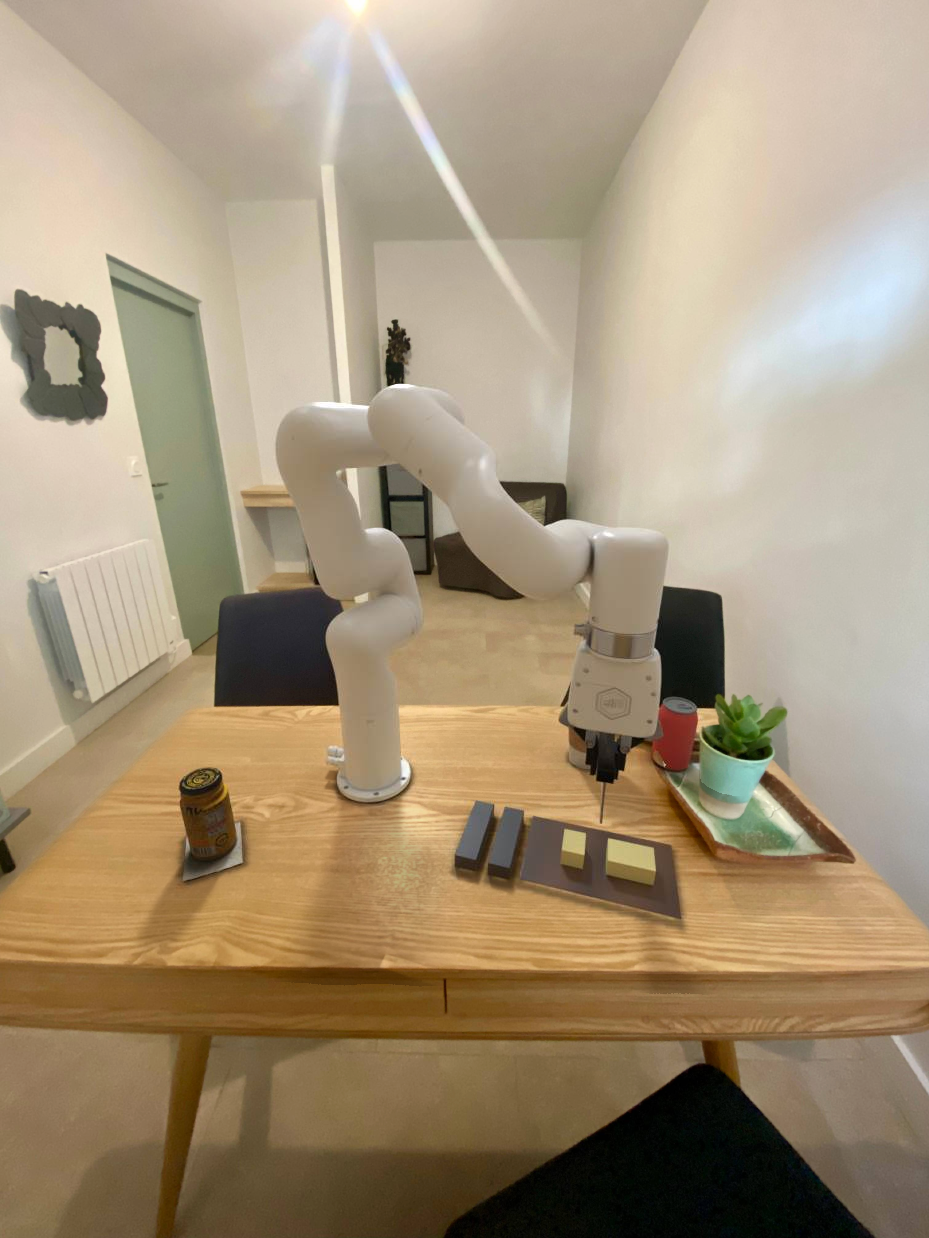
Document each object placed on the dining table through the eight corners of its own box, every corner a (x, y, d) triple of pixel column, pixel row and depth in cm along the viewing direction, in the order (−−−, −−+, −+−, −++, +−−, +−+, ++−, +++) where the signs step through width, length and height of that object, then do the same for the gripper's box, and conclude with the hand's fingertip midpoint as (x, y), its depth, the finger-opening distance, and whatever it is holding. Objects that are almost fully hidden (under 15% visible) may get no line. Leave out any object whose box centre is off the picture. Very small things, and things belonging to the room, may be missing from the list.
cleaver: (592, 822, 58) (597, 768, 56) (595, 771, 67) (599, 723, 65) (609, 825, 58) (615, 771, 55) (610, 773, 67) (615, 725, 64)
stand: (454, 871, 66) (454, 854, 65) (475, 815, 76) (475, 800, 75) (509, 885, 64) (510, 868, 63) (523, 825, 74) (524, 810, 73)
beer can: (692, 775, 85) (704, 716, 81) (653, 770, 86) (663, 712, 82) (684, 752, 91) (695, 697, 87) (647, 748, 92) (657, 693, 88)
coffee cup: (614, 755, 90) (624, 684, 85) (600, 780, 84) (609, 705, 78) (571, 741, 95) (578, 672, 89) (554, 763, 88) (561, 691, 83)
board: (518, 884, 64) (519, 878, 64) (532, 820, 75) (532, 815, 74) (680, 925, 59) (681, 919, 58) (670, 849, 70) (671, 844, 69)
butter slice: (560, 863, 66) (561, 849, 65) (563, 842, 70) (564, 828, 69) (582, 869, 65) (584, 855, 64) (584, 846, 69) (586, 833, 68)
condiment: (240, 822, 74) (227, 757, 70) (242, 863, 67) (228, 793, 63) (186, 838, 71) (169, 771, 67) (183, 883, 64) (164, 811, 60)
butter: (605, 874, 64) (607, 860, 63) (606, 851, 68) (608, 837, 67) (653, 885, 63) (656, 871, 62) (651, 861, 66) (653, 847, 66)
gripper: (545, 642, 54) (537, 778, 60) (701, 659, 50) (674, 803, 56) (553, 620, 60) (545, 744, 67) (690, 633, 56) (667, 764, 63)
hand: (603, 770), depth 61 cm, fingers closed on cleaver, 2 cm apart
